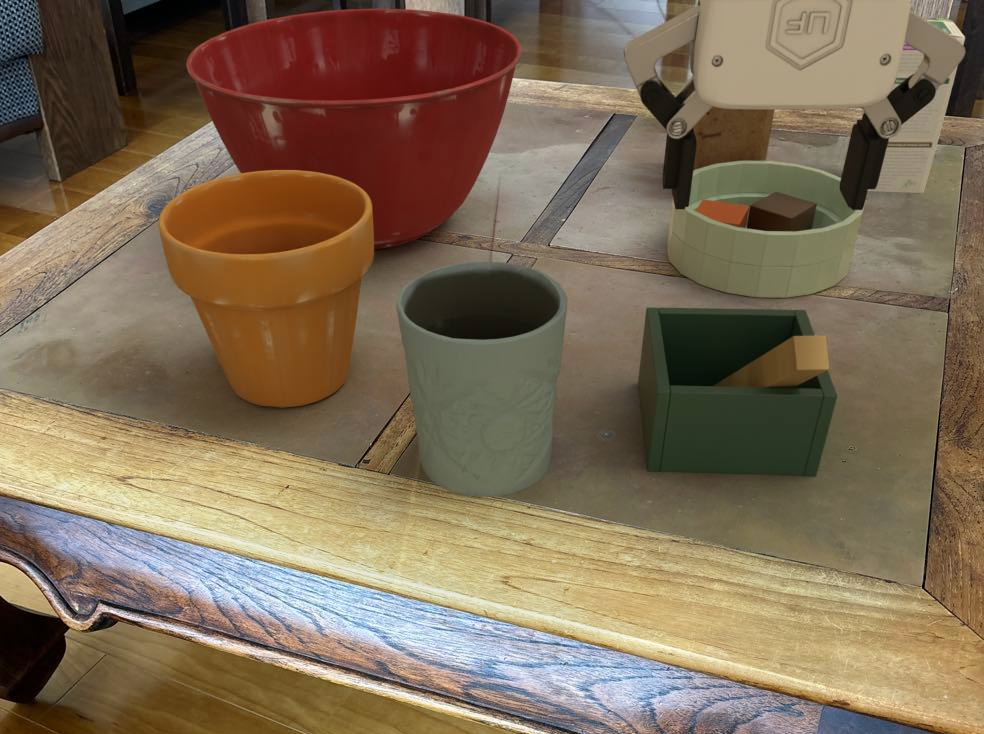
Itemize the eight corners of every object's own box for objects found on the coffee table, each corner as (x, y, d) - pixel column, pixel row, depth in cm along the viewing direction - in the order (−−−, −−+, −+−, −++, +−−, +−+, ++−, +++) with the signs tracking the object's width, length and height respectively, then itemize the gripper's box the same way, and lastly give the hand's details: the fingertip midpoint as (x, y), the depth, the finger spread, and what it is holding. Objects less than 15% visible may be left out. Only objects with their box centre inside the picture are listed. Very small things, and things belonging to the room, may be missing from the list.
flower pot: (230, 323, 83) (201, 164, 74) (401, 334, 81) (391, 172, 72) (165, 422, 72) (122, 249, 64) (360, 438, 70) (342, 261, 62)
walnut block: (807, 248, 89) (817, 203, 86) (782, 263, 87) (791, 218, 84) (767, 235, 91) (775, 191, 89) (742, 249, 89) (749, 205, 87)
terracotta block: (741, 249, 89) (749, 205, 87) (732, 269, 86) (739, 224, 84) (696, 242, 90) (702, 198, 88) (685, 261, 88) (691, 217, 85)
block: (758, 209, 97) (800, -27, 84) (678, 204, 98) (707, -29, 85) (760, 167, 105) (799, -55, 92) (686, 162, 106) (714, -57, 93)
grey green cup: (517, 528, 63) (521, 357, 55) (377, 482, 67) (362, 316, 59) (582, 442, 69) (595, 278, 61) (451, 404, 73) (447, 246, 65)
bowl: (828, 226, 94) (843, 160, 90) (865, 306, 82) (884, 235, 78) (660, 224, 95) (667, 159, 91) (673, 303, 84) (683, 233, 80)
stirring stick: (737, 387, 70) (826, 334, 58) (739, 415, 70) (829, 369, 58) (709, 388, 70) (793, 335, 58) (711, 416, 70) (797, 369, 58)
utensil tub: (786, 392, 73) (805, 309, 69) (814, 483, 65) (837, 396, 61) (637, 389, 74) (646, 306, 70) (646, 478, 66) (657, 391, 62)
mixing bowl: (297, 152, 111) (279, -5, 101) (552, 179, 104) (559, 13, 94) (161, 265, 91) (120, 84, 81) (463, 309, 84) (460, 115, 74)
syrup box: (924, 198, 98) (971, 34, 88) (859, 196, 98) (899, 34, 89) (913, 175, 102) (957, 17, 92) (851, 173, 103) (888, 16, 93)
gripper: (644, -139, 46) (615, 227, 57) (1050, -149, 44) (937, 229, 55) (635, -163, 51) (610, 175, 62) (995, -173, 50) (902, 175, 61)
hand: (764, 200), depth 59 cm, fingers open, 9 cm apart
